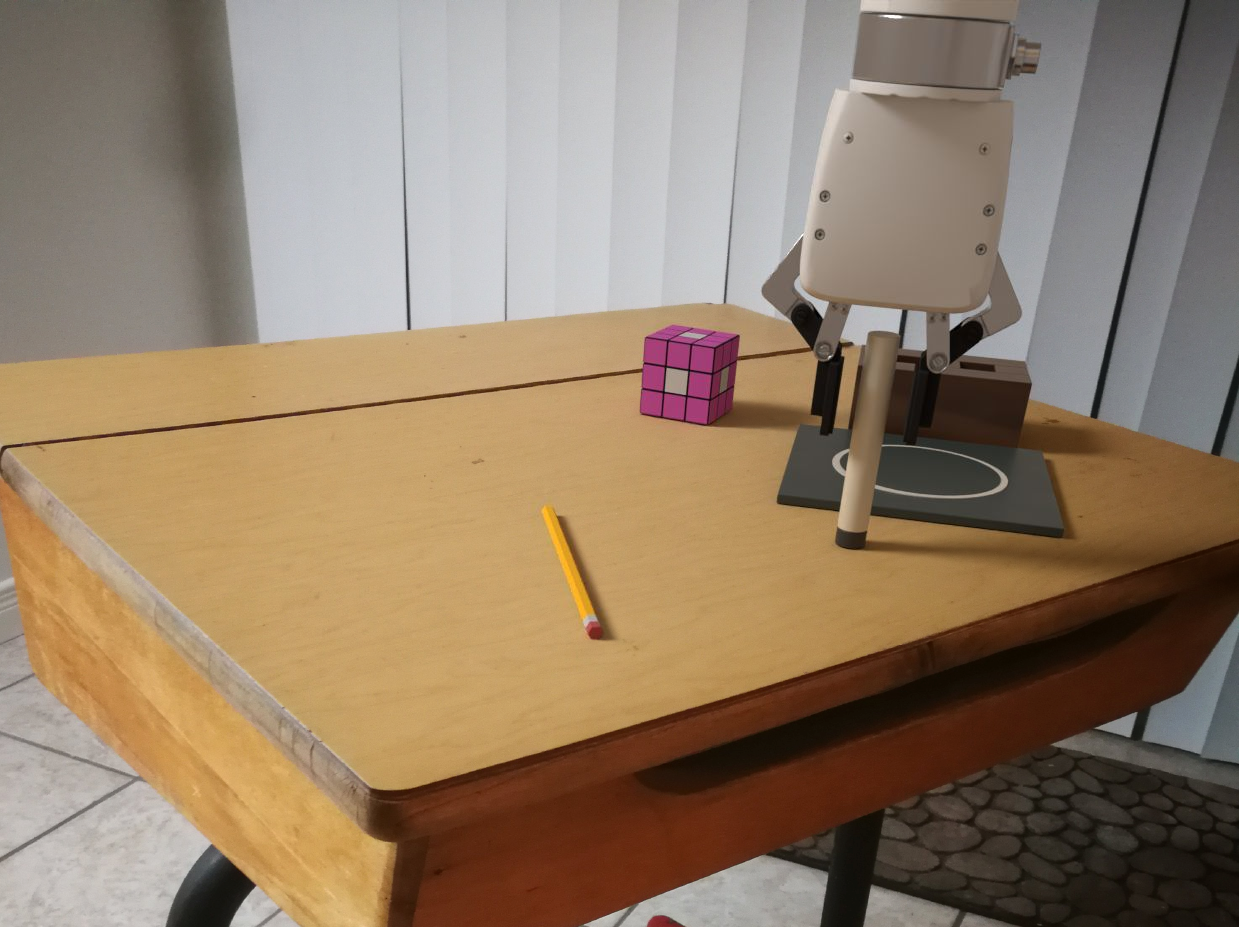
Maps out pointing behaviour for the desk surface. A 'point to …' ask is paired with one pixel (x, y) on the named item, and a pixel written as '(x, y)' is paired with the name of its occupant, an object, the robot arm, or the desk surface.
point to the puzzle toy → (689, 374)
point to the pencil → (572, 574)
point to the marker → (867, 437)
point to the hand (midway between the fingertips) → (868, 431)
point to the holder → (962, 399)
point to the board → (930, 481)
